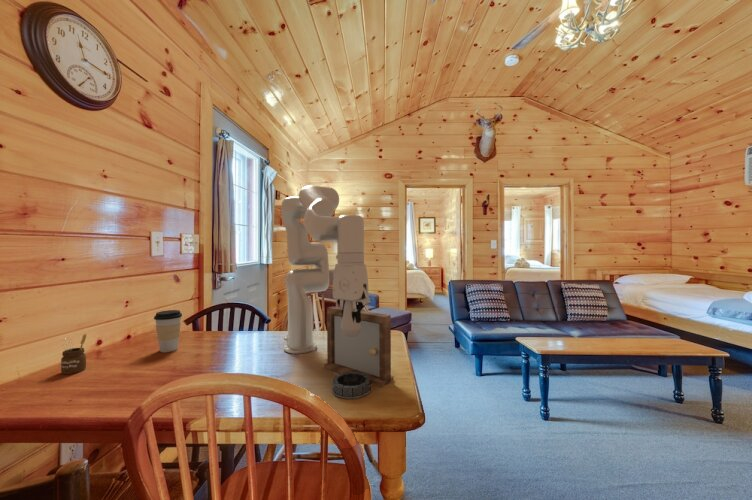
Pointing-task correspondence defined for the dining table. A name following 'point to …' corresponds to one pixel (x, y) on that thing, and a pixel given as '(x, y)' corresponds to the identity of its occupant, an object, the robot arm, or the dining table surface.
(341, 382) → the socket
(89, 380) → the dining table surface
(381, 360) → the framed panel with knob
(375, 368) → the door
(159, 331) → the coffee cup
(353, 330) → the salt shaker
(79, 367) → the utensil holder
